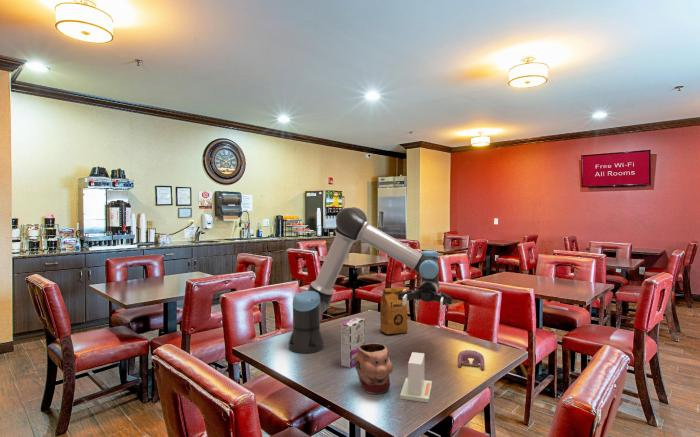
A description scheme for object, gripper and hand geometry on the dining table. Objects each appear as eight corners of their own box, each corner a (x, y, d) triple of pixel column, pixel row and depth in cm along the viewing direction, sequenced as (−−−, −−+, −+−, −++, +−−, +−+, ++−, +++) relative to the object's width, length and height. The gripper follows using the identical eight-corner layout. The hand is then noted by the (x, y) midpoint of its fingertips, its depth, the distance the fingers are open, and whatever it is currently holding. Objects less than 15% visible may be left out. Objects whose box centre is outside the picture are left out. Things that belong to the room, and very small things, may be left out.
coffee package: (409, 334, 187) (410, 288, 187) (385, 336, 184) (386, 290, 183) (401, 328, 197) (401, 284, 196) (378, 330, 193) (378, 286, 193)
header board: (400, 398, 125) (400, 379, 125) (406, 381, 137) (406, 363, 137) (428, 402, 122) (428, 383, 122) (432, 384, 135) (432, 366, 134)
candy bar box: (354, 356, 160) (354, 316, 159) (365, 359, 157) (365, 318, 157) (339, 365, 150) (339, 323, 150) (350, 368, 148) (350, 325, 147)
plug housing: (421, 395, 125) (421, 364, 124) (408, 393, 126) (408, 362, 125) (424, 382, 134) (424, 353, 133) (412, 380, 135) (412, 352, 135)
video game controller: (484, 371, 149) (484, 352, 152) (484, 370, 145) (484, 350, 148) (457, 368, 152) (457, 349, 155) (457, 367, 148) (457, 347, 151)
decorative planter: (345, 377, 140) (345, 339, 140) (375, 371, 145) (375, 334, 145) (369, 403, 122) (369, 359, 121) (402, 395, 127) (403, 353, 126)
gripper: (458, 302, 159) (457, 317, 138) (397, 297, 166) (388, 310, 145) (459, 284, 158) (457, 296, 138) (398, 280, 165) (388, 290, 145)
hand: (422, 303), depth 142 cm, fingers open, 13 cm apart
